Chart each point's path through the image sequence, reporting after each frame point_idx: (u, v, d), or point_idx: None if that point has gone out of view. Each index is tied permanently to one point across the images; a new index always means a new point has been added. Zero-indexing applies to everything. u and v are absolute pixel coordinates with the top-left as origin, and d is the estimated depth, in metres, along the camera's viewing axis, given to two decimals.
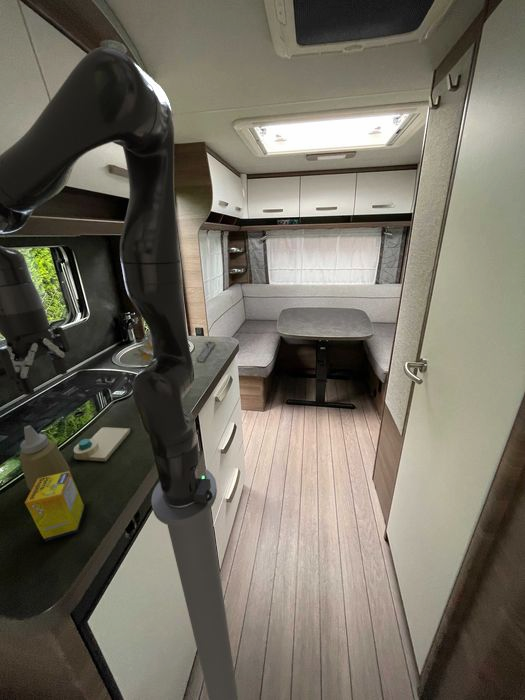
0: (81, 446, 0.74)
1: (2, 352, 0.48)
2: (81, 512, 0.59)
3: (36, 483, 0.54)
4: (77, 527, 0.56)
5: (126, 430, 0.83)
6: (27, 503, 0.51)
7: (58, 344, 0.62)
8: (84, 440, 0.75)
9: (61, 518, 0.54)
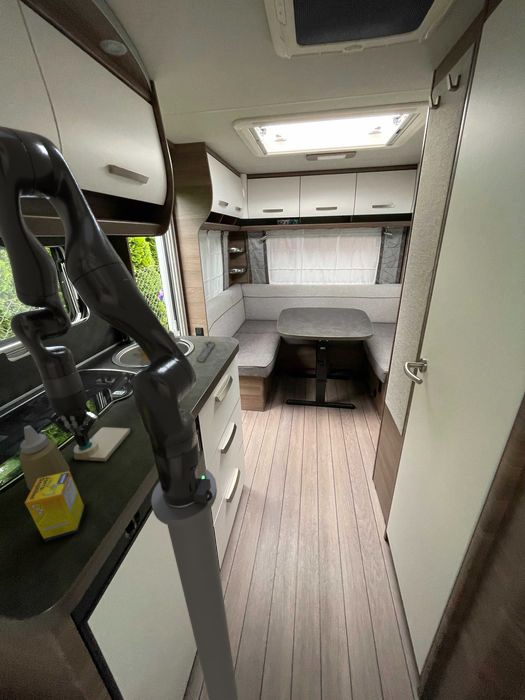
0: (82, 448, 0.74)
1: (50, 419, 0.71)
2: (81, 512, 0.59)
3: (36, 483, 0.54)
4: (77, 527, 0.56)
5: (126, 430, 0.83)
6: (27, 503, 0.51)
7: None
8: None
9: (61, 518, 0.54)
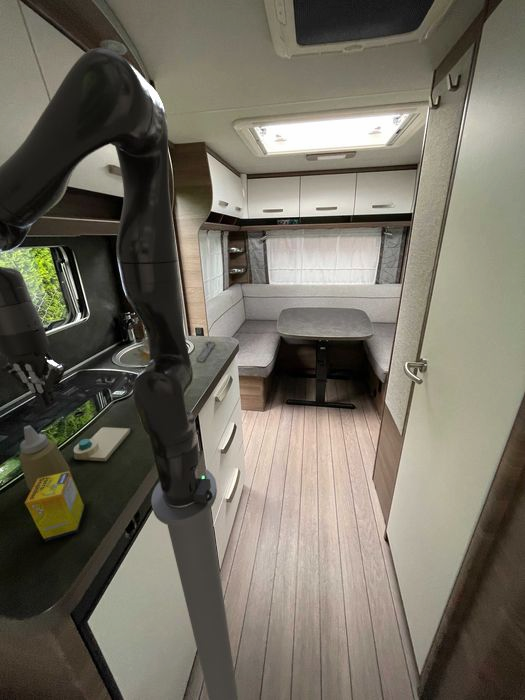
0: (81, 446, 0.74)
1: (2, 370, 0.55)
2: (81, 512, 0.59)
3: (36, 483, 0.54)
4: (77, 527, 0.56)
5: (126, 430, 0.83)
6: (27, 503, 0.51)
7: (56, 379, 0.56)
8: (84, 440, 0.75)
9: (61, 518, 0.54)
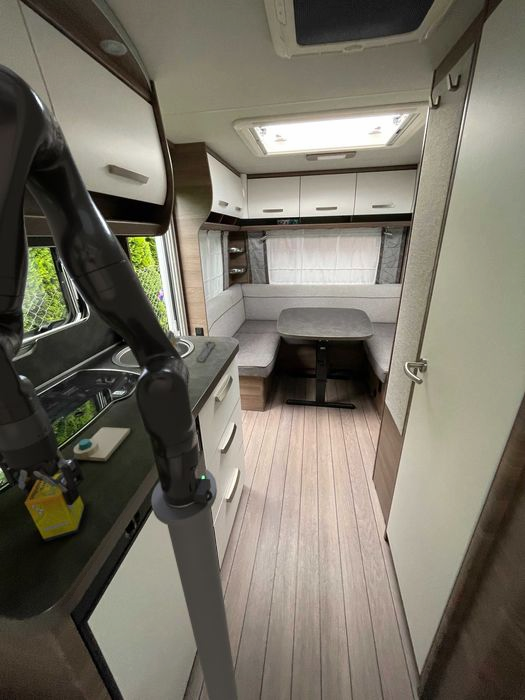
0: (81, 446, 0.74)
1: None
2: (81, 512, 0.59)
3: (36, 483, 0.54)
4: (77, 527, 0.56)
5: (126, 430, 0.83)
6: (27, 503, 0.51)
7: (78, 475, 0.53)
8: (84, 440, 0.75)
9: (61, 518, 0.54)
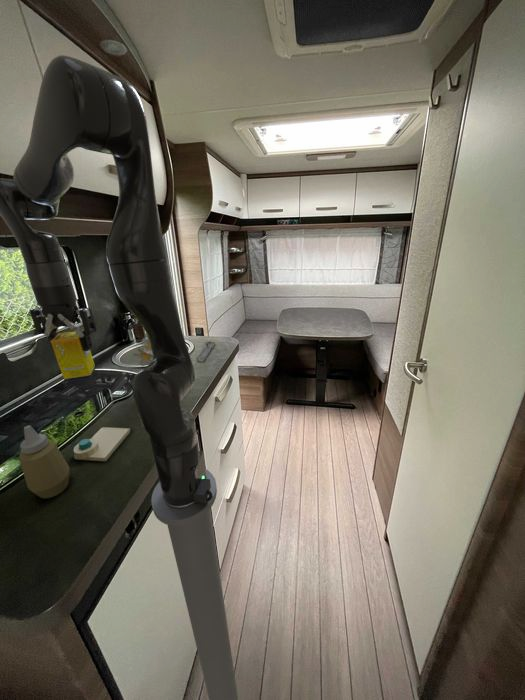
0: (81, 446, 0.74)
1: (30, 311, 0.65)
2: (93, 368, 0.73)
3: (58, 334, 0.68)
4: (90, 374, 0.70)
5: (126, 430, 0.83)
6: (52, 342, 0.64)
7: (92, 325, 0.66)
8: (84, 440, 0.75)
9: (78, 361, 0.67)
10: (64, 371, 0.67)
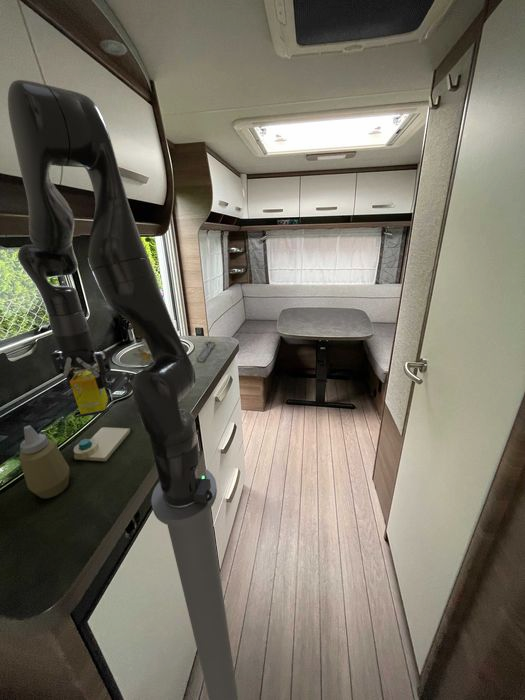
0: (81, 446, 0.74)
1: (51, 354, 0.71)
2: (106, 402, 0.79)
3: (76, 374, 0.74)
4: (104, 409, 0.76)
5: (126, 430, 0.83)
6: (71, 382, 0.71)
7: (106, 366, 0.73)
8: (84, 440, 0.75)
9: (93, 398, 0.74)
10: (81, 407, 0.74)
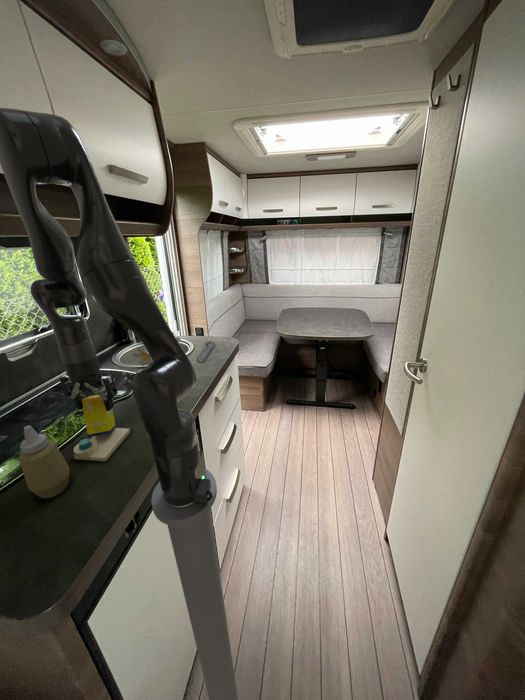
0: (81, 446, 0.74)
1: (60, 379, 0.74)
2: (113, 426, 0.83)
3: (89, 396, 0.82)
4: (110, 430, 0.79)
5: (126, 430, 0.83)
6: (83, 400, 0.77)
7: (113, 389, 0.76)
8: (84, 440, 0.75)
9: (101, 417, 0.78)
10: (89, 427, 0.78)
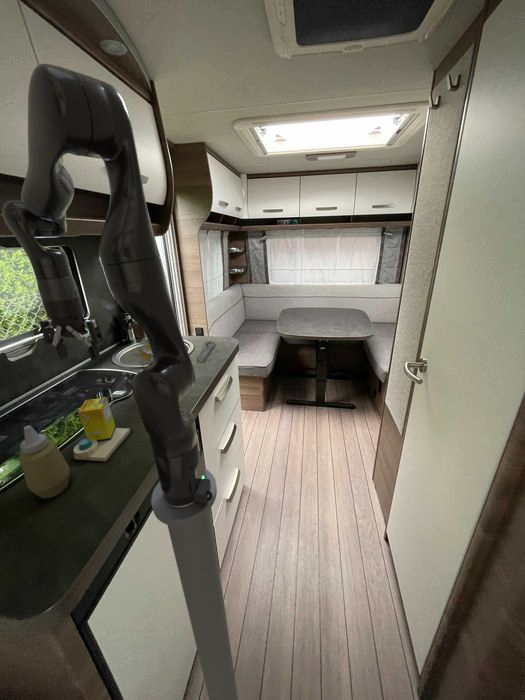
0: (81, 446, 0.74)
1: (40, 323, 0.68)
2: (113, 428, 0.83)
3: (85, 402, 0.78)
4: (110, 436, 0.80)
5: (126, 430, 0.83)
6: (79, 412, 0.74)
7: (99, 335, 0.70)
8: (84, 440, 0.75)
9: (100, 427, 0.77)
10: (89, 435, 0.77)
